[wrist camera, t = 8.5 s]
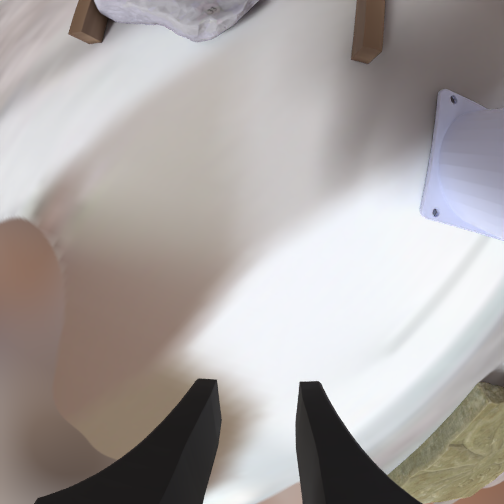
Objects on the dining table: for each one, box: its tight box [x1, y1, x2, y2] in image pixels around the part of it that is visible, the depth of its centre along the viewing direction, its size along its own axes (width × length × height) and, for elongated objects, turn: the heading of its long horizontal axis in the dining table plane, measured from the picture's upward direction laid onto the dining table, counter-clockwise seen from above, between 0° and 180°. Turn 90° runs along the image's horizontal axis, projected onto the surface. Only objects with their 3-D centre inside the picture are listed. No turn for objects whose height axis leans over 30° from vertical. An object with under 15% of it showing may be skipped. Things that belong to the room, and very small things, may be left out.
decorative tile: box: [387, 382, 504, 504], centre depth 22 cm, size 19×20×4 cm
